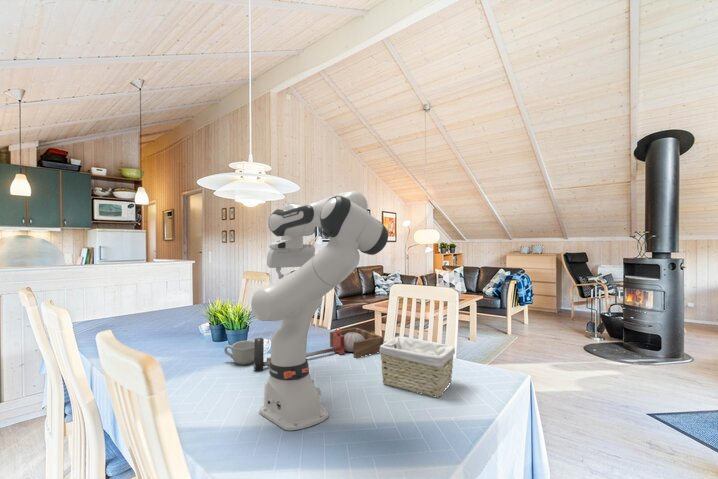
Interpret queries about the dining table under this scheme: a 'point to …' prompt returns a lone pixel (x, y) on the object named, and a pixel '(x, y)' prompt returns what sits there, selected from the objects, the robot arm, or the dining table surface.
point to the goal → (363, 342)
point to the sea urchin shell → (351, 341)
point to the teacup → (241, 352)
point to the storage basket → (417, 365)
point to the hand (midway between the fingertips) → (291, 278)
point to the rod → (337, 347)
